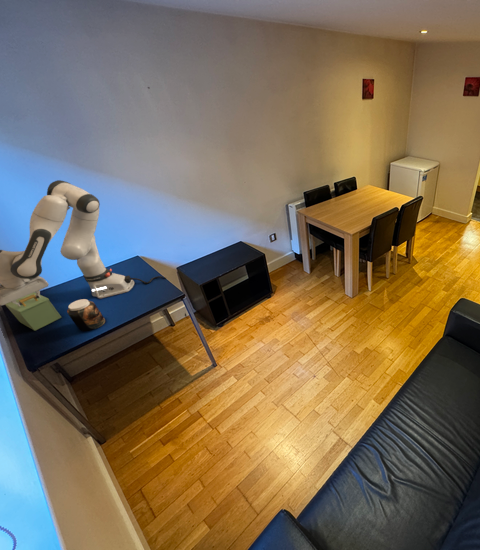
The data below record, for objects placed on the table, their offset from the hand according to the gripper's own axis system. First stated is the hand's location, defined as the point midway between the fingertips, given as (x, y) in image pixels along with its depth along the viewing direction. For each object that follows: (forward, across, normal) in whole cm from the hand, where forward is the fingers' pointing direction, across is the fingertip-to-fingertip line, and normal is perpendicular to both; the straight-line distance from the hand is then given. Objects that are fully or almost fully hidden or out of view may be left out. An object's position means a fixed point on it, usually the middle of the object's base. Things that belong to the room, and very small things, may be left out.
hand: (30, 301), depth 156 cm
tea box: (+15, 0, +5) cm, 16 cm away
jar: (+15, +10, -25) cm, 31 cm away
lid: (+2, 0, +5) cm, 6 cm away
